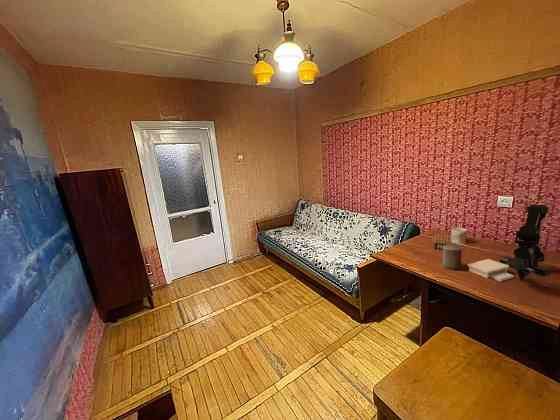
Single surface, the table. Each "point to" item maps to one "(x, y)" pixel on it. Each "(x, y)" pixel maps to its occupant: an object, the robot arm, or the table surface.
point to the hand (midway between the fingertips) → (521, 280)
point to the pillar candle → (452, 257)
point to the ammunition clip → (442, 242)
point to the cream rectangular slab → (487, 267)
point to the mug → (458, 235)
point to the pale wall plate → (500, 275)
